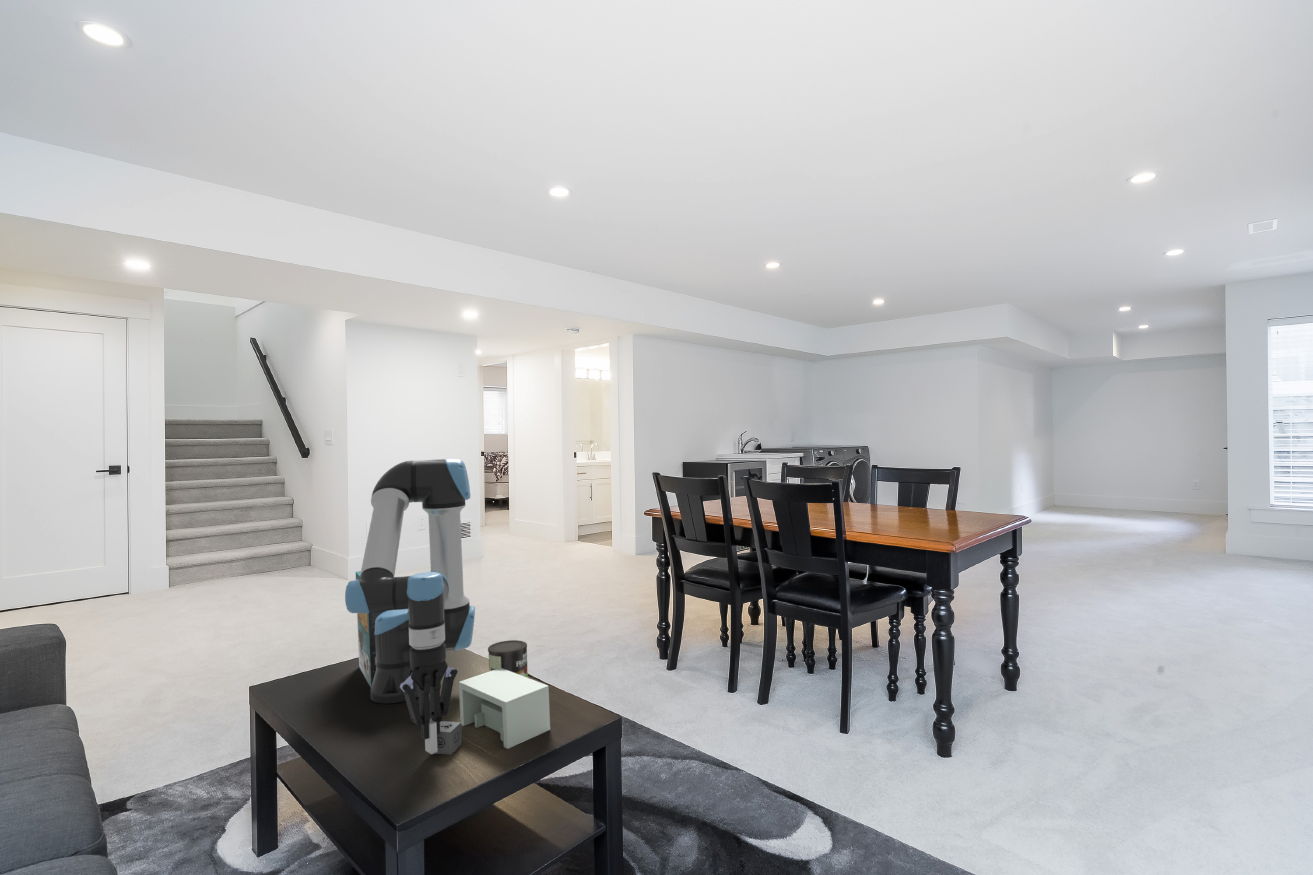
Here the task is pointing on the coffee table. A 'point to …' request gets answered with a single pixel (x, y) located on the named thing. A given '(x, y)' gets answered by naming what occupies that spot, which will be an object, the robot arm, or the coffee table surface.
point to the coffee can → (509, 656)
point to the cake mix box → (367, 642)
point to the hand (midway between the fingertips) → (431, 750)
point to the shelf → (505, 705)
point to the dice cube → (449, 737)
